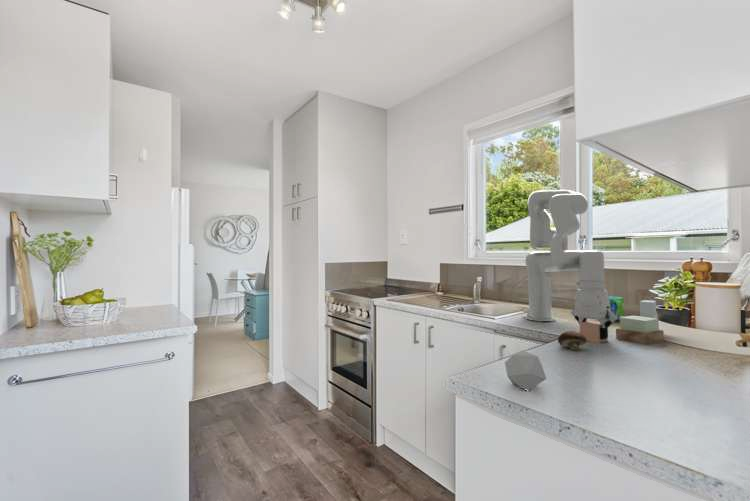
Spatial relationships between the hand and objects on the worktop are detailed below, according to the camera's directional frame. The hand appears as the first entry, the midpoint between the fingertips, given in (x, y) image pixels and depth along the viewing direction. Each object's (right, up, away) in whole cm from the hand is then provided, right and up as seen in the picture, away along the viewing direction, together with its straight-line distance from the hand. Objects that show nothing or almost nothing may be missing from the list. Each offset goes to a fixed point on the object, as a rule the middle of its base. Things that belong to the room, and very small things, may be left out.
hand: (593, 336), depth 123 cm
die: (-42, -1, -42) cm, 59 cm away
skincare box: (+26, -1, +8) cm, 27 cm away
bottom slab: (+15, -1, -1) cm, 15 cm away
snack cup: (+30, -1, +37) cm, 48 cm away
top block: (+15, +3, -1) cm, 16 cm away
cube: (0, -1, 0) cm, 1 cm away
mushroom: (-14, -2, -11) cm, 17 cm away
